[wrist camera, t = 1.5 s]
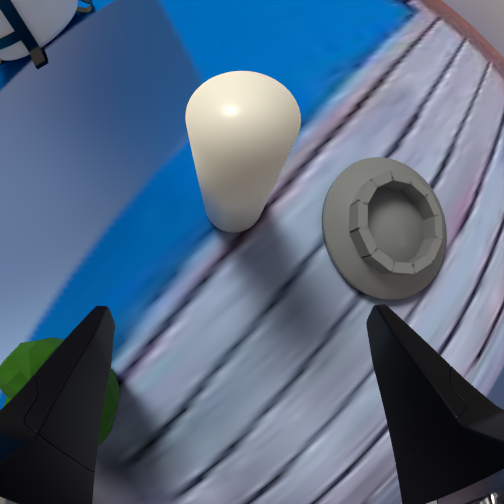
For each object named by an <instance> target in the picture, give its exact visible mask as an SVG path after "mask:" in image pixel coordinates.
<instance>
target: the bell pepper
mask: <svg viewBox="0 0 504 504" xmlns="http://www.w3.org/2000/svg"><path fill="white" fill-rule="evenodd" d="M63 341H64V340H63V339H58V338H53V337H52V338H47V339H42V340H36V341H31V342H25V343H20V344H19V346H18V347H17V348H16V349H15V350H14V351H13V352H12V353H11V354H10V355H9V356H8V357H7V358H6V359H5V361H3V363H2V364H1V366H0V389H1V390H2V391H3V393H4V394H5V395H6V396H7V398H6V401H5V404H4V406H5V405H6V404H7V403H8V402H9V401H10V400H11V399H12V398H13V397H14V396H15V395H16V394H17V393H18V392H19V391H20V390H21V389H22V388H23V386H24V385H25V384H26V383H27V382H28V381H29V380H30V378H31V377H32V376H33V375H34V374H35V373H36V372H37V370H38V369H39V368H40V367H41V366H42V365H43V363H44V362H45V361H46V360H47V359H48V358H49V357H50V355H51V354H52V353H53V352H54V351H55V350H56V349H57V348H58V346H59V345H60V344H61V343H62V342H63ZM119 397H120V389H119V385H118V381H117V378H116V374H115V373H114V372H113V371H112V370H111V369H110V374H109V379H108V384H107V390H106V395H105V401H104V407H103V413H102V419H101V426H100V433H99V440H98V445H100V444H101V443H102V442H103V441H104V439H105V438H106V437H107V436H108V434H109V433H110V432H111V429H112V426H113V422H114V419H115V414H116V410H117V405H118V401H119Z"/></svg>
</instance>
